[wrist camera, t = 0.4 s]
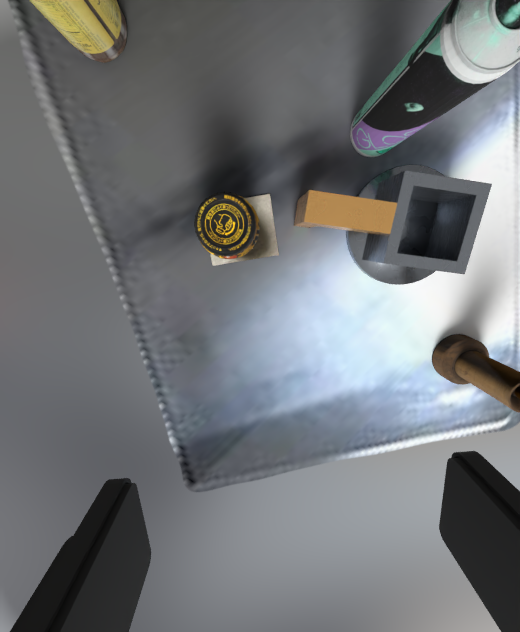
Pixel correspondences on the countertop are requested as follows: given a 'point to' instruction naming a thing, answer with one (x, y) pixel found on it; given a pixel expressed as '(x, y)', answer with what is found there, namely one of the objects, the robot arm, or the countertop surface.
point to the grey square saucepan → (403, 222)
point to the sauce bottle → (88, 25)
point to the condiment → (236, 227)
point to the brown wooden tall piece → (477, 369)
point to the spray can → (440, 72)
